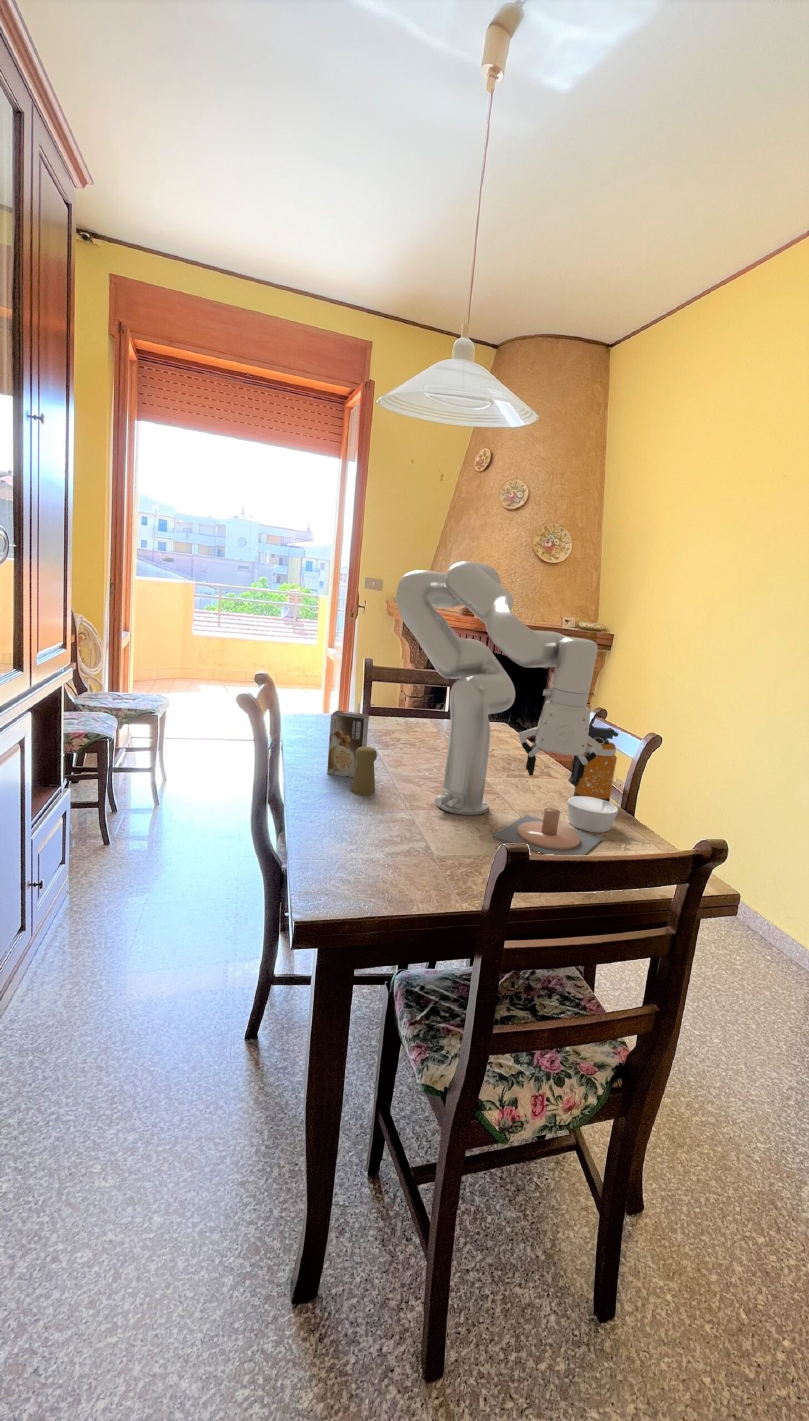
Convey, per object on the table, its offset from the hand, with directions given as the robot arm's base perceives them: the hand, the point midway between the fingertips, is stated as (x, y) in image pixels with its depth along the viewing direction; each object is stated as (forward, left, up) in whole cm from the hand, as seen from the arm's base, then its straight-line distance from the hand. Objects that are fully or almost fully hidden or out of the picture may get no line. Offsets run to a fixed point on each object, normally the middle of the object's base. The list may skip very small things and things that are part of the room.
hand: (553, 777), depth 132 cm
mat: (0, -1, -14) cm, 14 cm away
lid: (0, -1, -13) cm, 13 cm away
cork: (-7, +44, -14) cm, 47 cm away
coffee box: (+1, +56, -14) cm, 58 cm away
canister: (+33, +2, -14) cm, 36 cm away
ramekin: (+16, -5, -14) cm, 21 cm away
